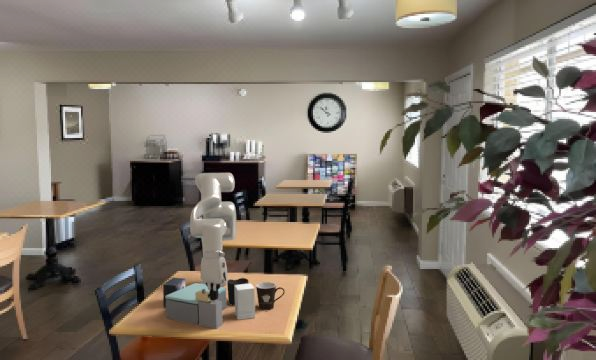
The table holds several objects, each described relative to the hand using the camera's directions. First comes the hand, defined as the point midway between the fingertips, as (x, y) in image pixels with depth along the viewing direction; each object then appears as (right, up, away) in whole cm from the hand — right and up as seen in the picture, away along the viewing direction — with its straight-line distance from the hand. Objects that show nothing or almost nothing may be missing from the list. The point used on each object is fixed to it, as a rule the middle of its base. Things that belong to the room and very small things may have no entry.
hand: (214, 299), depth 195 cm
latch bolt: (-4, -1, +2) cm, 5 cm away
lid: (-10, -1, +14) cm, 17 cm away
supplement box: (+11, -10, +11) cm, 19 cm away
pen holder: (+6, -8, +27) cm, 29 cm away
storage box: (-6, -10, +13) cm, 17 cm away
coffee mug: (+21, -9, +20) cm, 30 cm away
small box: (-22, -9, +26) cm, 35 cm away
